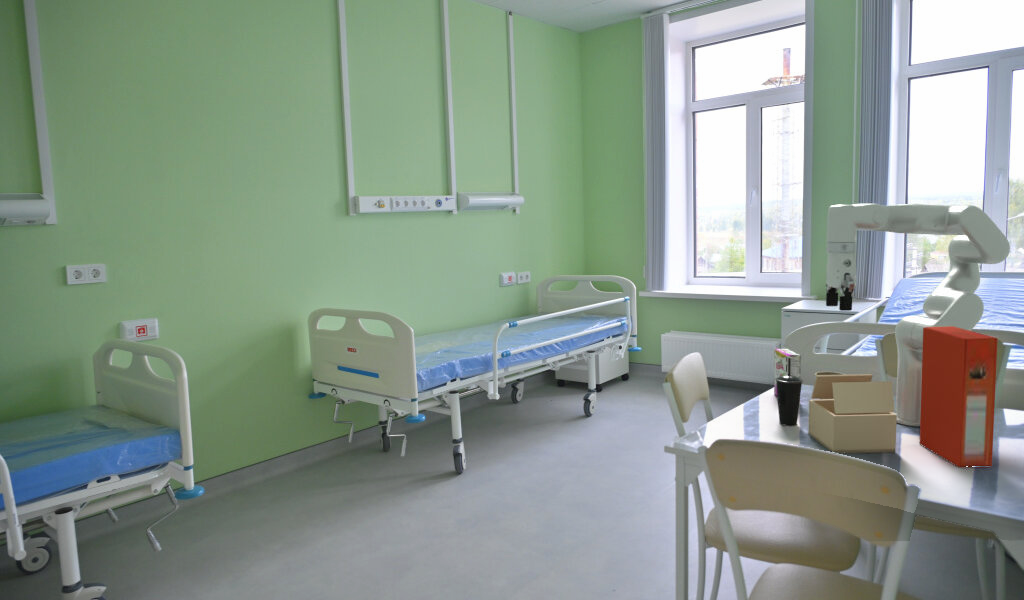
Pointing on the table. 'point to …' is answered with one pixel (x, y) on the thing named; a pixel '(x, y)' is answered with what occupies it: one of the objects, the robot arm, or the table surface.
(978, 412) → the file binder
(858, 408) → the flap
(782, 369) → the candy bar box
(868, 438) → the carton
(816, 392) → the flap
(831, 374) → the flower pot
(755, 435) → the table surface
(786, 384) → the drinking cup
